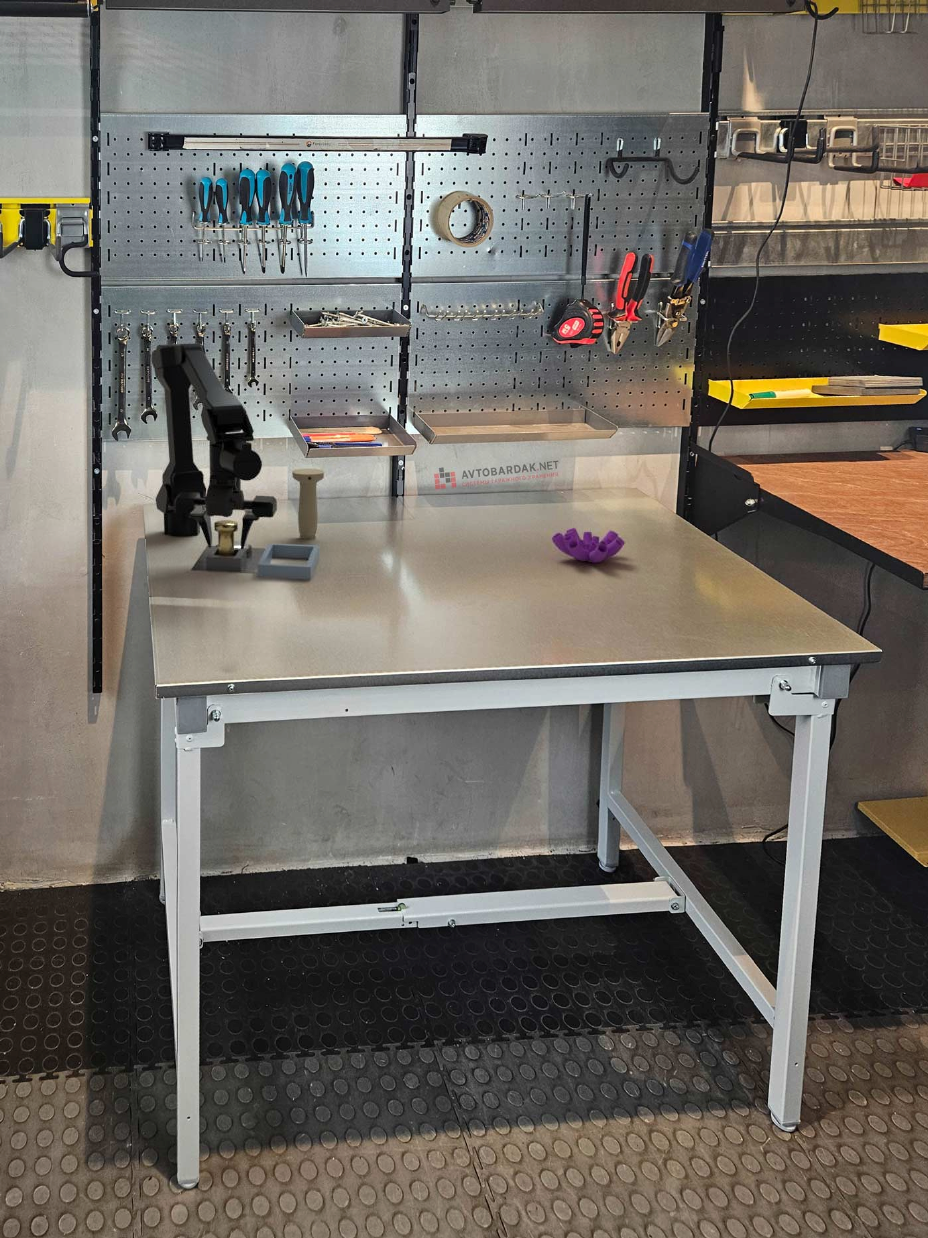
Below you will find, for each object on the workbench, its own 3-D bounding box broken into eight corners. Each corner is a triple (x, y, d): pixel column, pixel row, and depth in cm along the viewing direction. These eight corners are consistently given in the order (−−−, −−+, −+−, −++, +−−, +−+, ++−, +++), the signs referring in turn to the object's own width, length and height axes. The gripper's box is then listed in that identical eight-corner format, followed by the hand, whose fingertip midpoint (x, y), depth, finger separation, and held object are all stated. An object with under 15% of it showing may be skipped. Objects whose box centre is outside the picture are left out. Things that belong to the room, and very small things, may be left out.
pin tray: (257, 582, 247) (257, 564, 245) (268, 560, 260) (268, 543, 258) (310, 585, 247) (310, 567, 245) (319, 562, 260) (319, 545, 259)
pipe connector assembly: (621, 581, 269) (625, 553, 261) (548, 575, 270) (550, 548, 262) (623, 537, 275) (627, 509, 267) (552, 532, 276) (554, 503, 268)
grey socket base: (190, 576, 248) (190, 557, 247) (207, 551, 263) (206, 534, 262) (253, 579, 248) (253, 561, 247) (266, 554, 263) (266, 537, 262)
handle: (324, 544, 272) (325, 474, 266) (293, 545, 270) (293, 474, 265) (321, 538, 276) (322, 468, 271) (290, 538, 274) (291, 468, 269)
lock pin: (213, 567, 250) (212, 525, 247) (217, 560, 254) (216, 519, 251) (236, 568, 250) (235, 527, 247) (240, 561, 254) (239, 520, 252)
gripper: (165, 476, 238) (168, 558, 243) (268, 481, 238) (268, 563, 244) (179, 462, 249) (181, 540, 254) (277, 467, 249) (277, 545, 254)
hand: (226, 547), depth 251 cm, fingers open, 6 cm apart
